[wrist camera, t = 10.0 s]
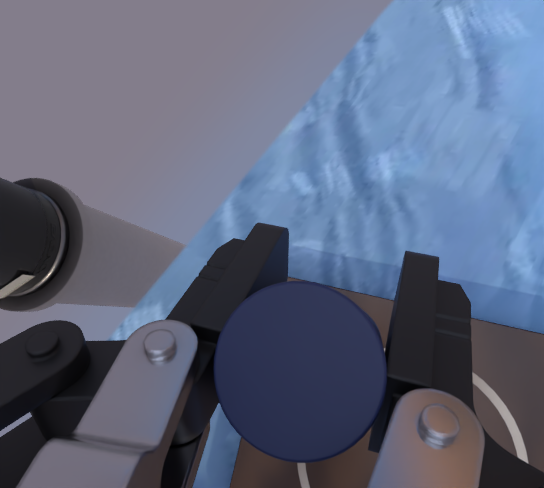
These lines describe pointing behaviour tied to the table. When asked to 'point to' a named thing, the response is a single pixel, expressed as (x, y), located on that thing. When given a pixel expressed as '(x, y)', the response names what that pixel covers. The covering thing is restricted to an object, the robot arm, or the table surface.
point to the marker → (300, 371)
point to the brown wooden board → (486, 397)
